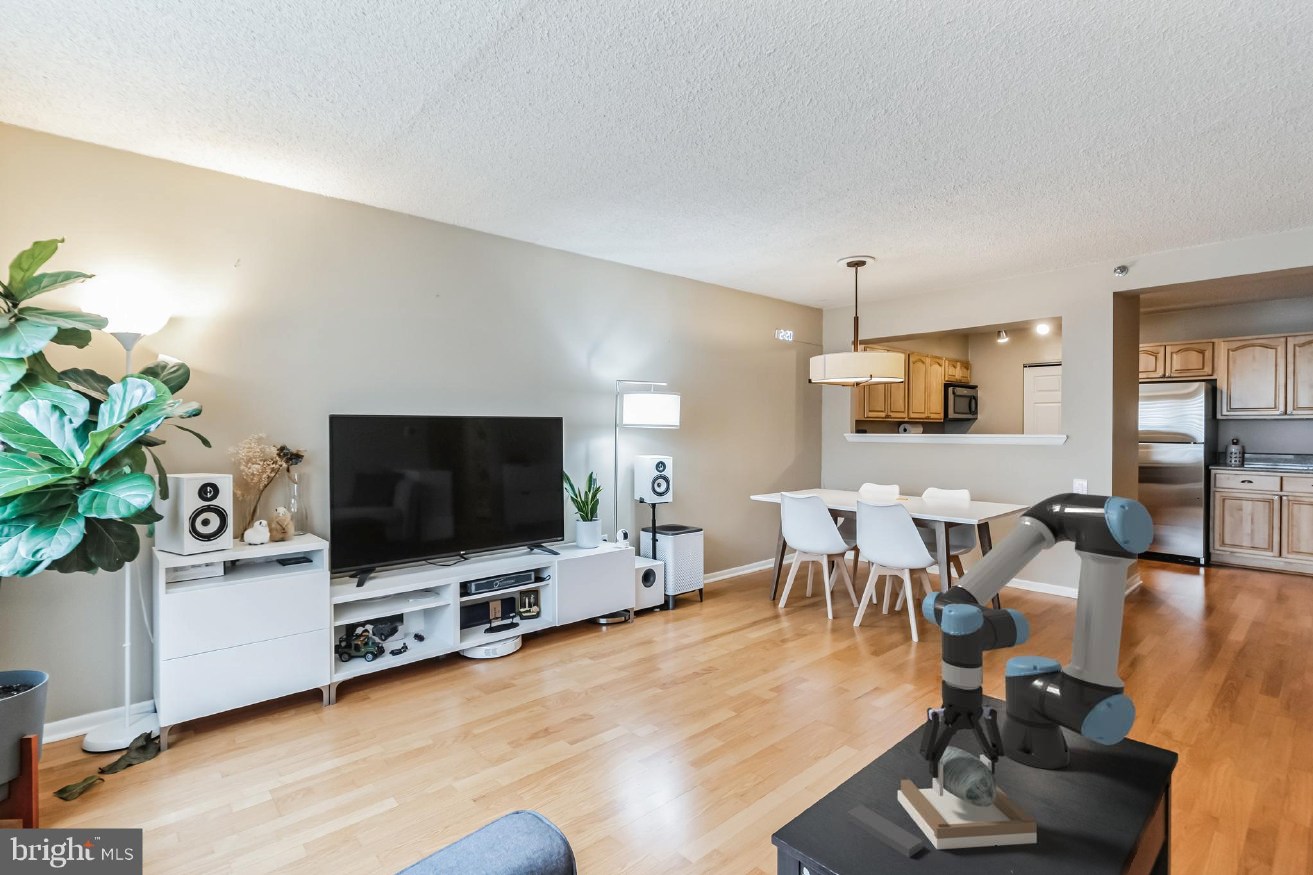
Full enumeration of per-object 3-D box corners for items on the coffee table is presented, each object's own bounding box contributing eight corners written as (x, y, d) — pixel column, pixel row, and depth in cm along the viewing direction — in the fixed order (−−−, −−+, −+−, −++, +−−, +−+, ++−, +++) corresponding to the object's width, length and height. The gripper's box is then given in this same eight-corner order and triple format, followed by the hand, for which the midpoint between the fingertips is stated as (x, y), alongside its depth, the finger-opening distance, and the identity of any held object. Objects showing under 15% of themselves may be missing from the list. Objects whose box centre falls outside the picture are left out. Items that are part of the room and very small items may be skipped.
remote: (860, 814, 130) (860, 804, 130) (922, 850, 119) (922, 840, 119) (847, 821, 128) (847, 811, 128) (909, 859, 116) (909, 849, 116)
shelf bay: (985, 794, 136) (986, 773, 136) (1036, 842, 120) (1036, 819, 120) (897, 799, 135) (897, 778, 135) (937, 849, 119) (937, 825, 119)
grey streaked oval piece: (1016, 793, 122) (988, 747, 123) (983, 824, 120) (954, 777, 120) (968, 773, 135) (943, 732, 136) (938, 801, 132) (912, 758, 133)
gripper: (1001, 673, 132) (1001, 777, 133) (900, 677, 130) (900, 783, 131) (1025, 687, 125) (1025, 798, 125) (919, 692, 123) (918, 804, 123)
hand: (961, 790), depth 128 cm, fingers closed on grey streaked oval piece, 9 cm apart
